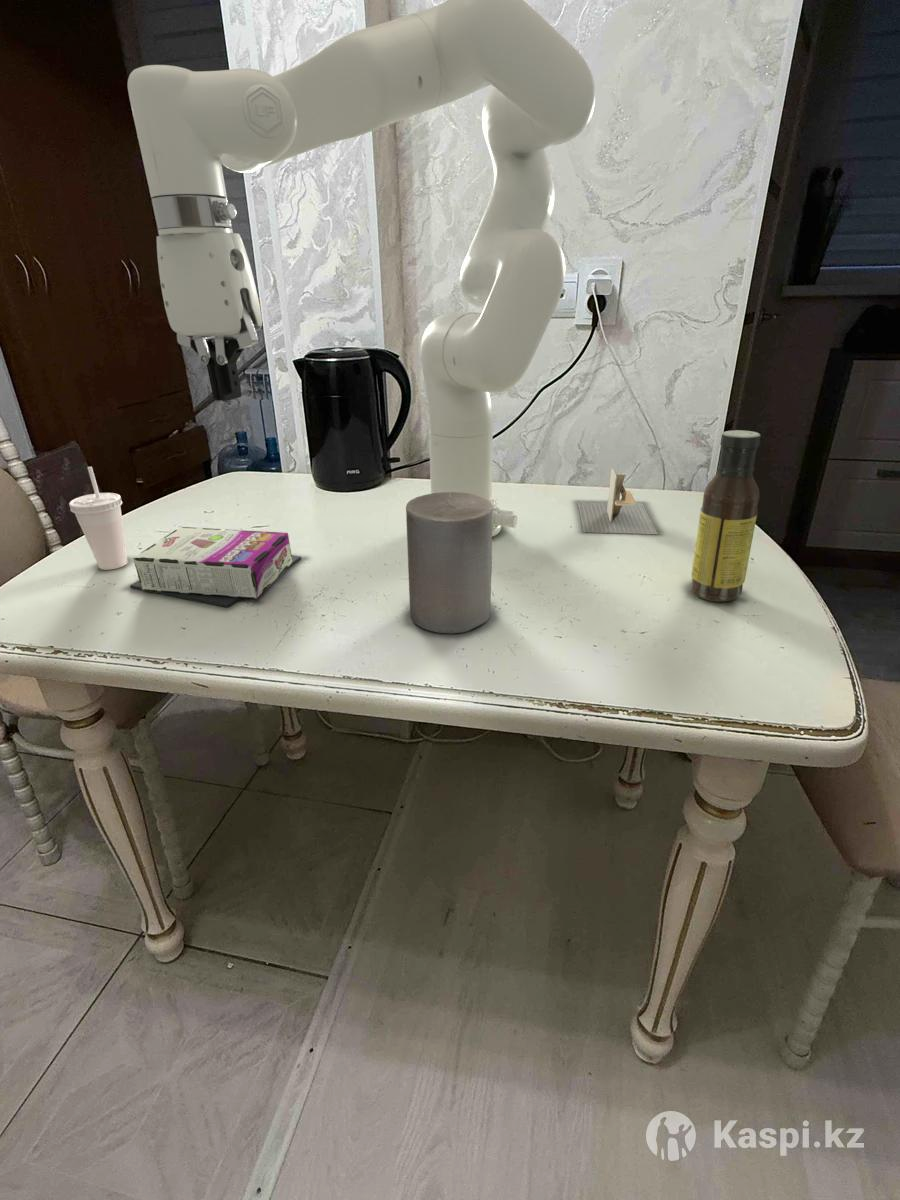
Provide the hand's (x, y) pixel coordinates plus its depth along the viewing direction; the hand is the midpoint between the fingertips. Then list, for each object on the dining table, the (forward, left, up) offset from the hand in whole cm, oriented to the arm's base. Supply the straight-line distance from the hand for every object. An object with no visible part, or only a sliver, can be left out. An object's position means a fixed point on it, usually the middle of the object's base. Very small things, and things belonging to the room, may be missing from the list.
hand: (228, 398), depth 75 cm
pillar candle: (-29, +1, -24) cm, 37 cm away
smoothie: (+22, +4, -24) cm, 33 cm away
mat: (+6, +1, -23) cm, 24 cm away
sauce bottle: (-58, -16, -24) cm, 64 cm away
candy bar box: (-4, +2, -21) cm, 21 cm away
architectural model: (-42, -40, -24) cm, 62 cm away
